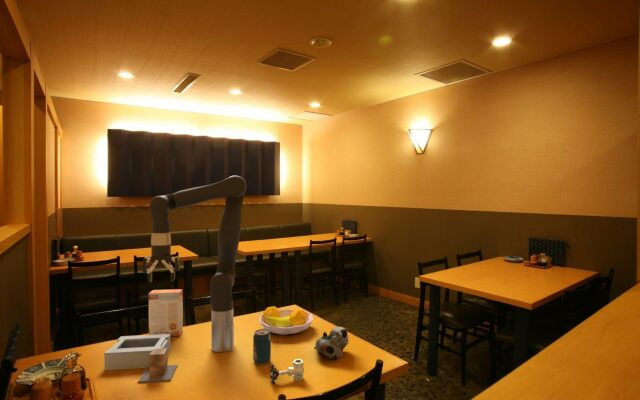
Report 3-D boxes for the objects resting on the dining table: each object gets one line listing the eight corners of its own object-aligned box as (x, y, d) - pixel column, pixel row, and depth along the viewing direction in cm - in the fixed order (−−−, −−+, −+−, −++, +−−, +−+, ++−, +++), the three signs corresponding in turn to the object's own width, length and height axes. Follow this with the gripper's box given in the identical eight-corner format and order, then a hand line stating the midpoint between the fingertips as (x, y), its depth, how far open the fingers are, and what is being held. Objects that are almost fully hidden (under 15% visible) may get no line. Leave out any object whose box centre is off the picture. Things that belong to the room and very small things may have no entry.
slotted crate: (170, 349, 157) (170, 333, 157) (160, 366, 141) (160, 349, 141) (120, 351, 154) (120, 336, 154) (104, 370, 138) (104, 353, 138)
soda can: (273, 359, 148) (273, 329, 148) (265, 366, 142) (265, 336, 142) (258, 356, 151) (258, 327, 150) (249, 363, 144) (250, 333, 144)
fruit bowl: (290, 316, 199) (290, 295, 199) (324, 330, 179) (324, 307, 179) (245, 329, 180) (245, 306, 180) (277, 346, 160) (277, 321, 160)
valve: (301, 373, 137) (269, 378, 133) (301, 356, 137) (269, 361, 133) (306, 382, 131) (273, 388, 127) (306, 364, 130) (273, 369, 127)
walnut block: (167, 368, 138) (167, 348, 138) (164, 375, 133) (163, 353, 133) (153, 369, 138) (153, 349, 137) (149, 376, 133) (149, 354, 132)
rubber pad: (177, 366, 142) (177, 364, 142) (170, 380, 131) (170, 379, 131) (147, 368, 140) (147, 366, 140) (137, 383, 129) (137, 381, 129)
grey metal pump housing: (317, 345, 161) (331, 316, 163) (341, 360, 158) (355, 330, 160) (309, 350, 147) (325, 318, 149) (335, 366, 143) (351, 333, 146)
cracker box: (183, 331, 177) (183, 288, 176) (179, 336, 171) (179, 292, 170) (153, 332, 175) (152, 289, 175) (148, 337, 169) (148, 292, 169)
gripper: (180, 241, 158) (180, 278, 158) (145, 242, 155) (145, 280, 156) (177, 244, 150) (177, 283, 151) (140, 244, 148) (140, 284, 148)
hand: (161, 281), depth 153 cm, fingers open, 8 cm apart
